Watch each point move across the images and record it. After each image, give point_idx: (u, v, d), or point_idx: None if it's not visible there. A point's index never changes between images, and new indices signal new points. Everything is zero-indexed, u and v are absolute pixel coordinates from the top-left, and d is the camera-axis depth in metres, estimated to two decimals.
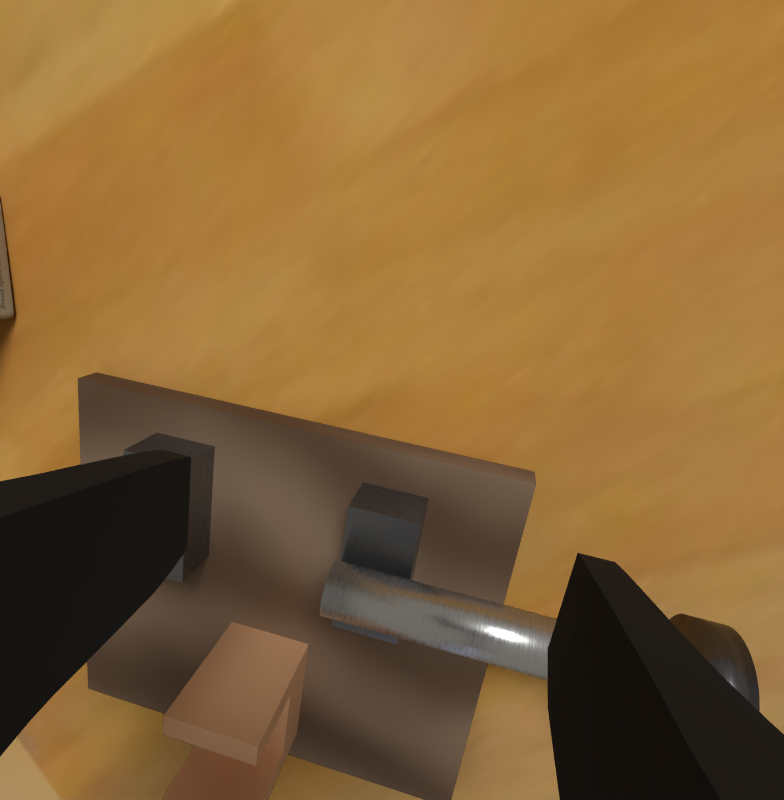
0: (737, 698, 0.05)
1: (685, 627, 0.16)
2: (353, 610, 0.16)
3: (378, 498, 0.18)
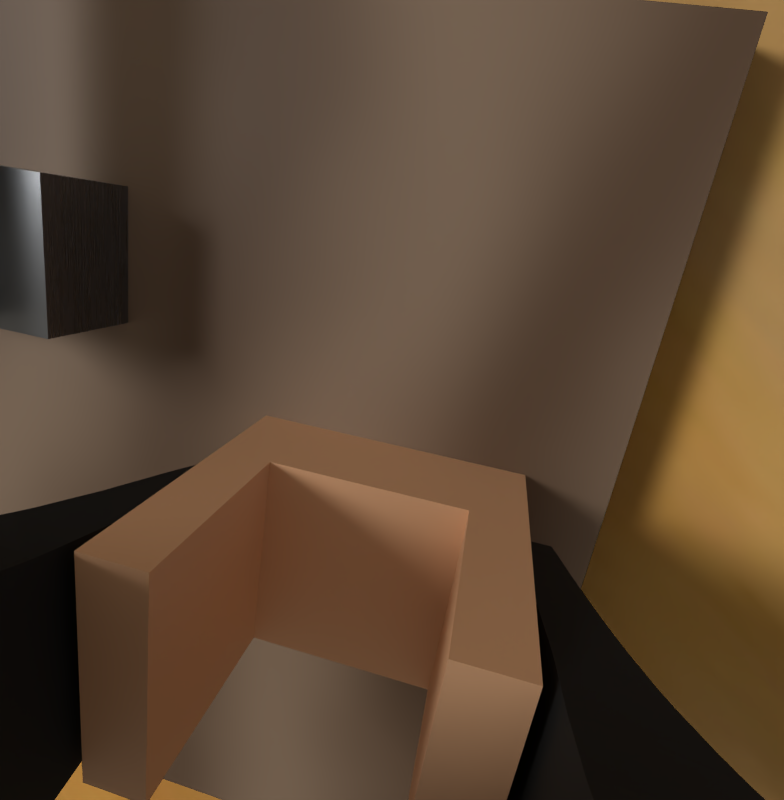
0: (633, 669, 0.05)
1: None
2: None
3: None
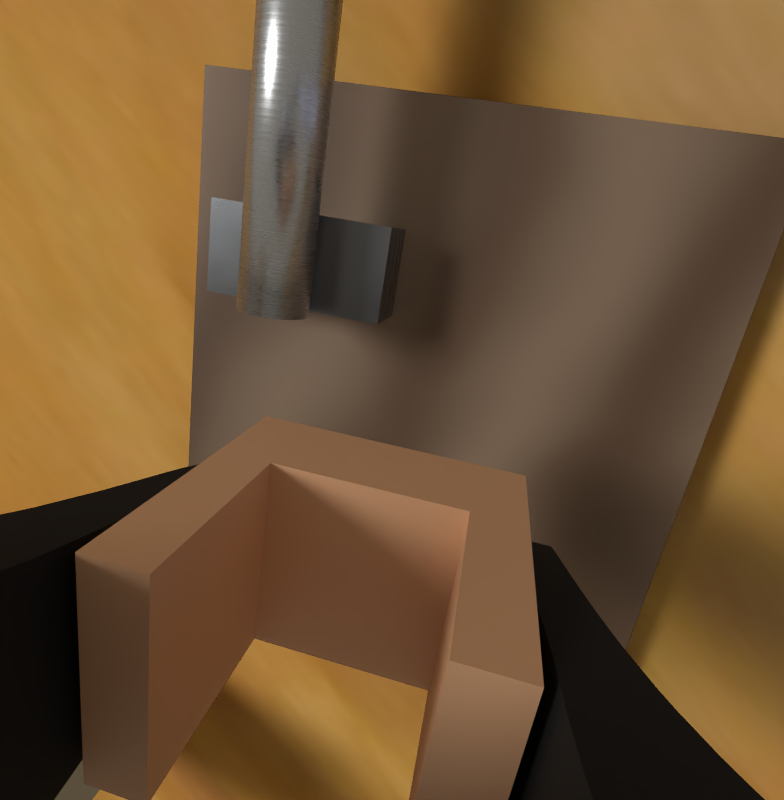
0: (632, 669, 0.05)
1: None
2: (256, 270, 0.12)
3: None
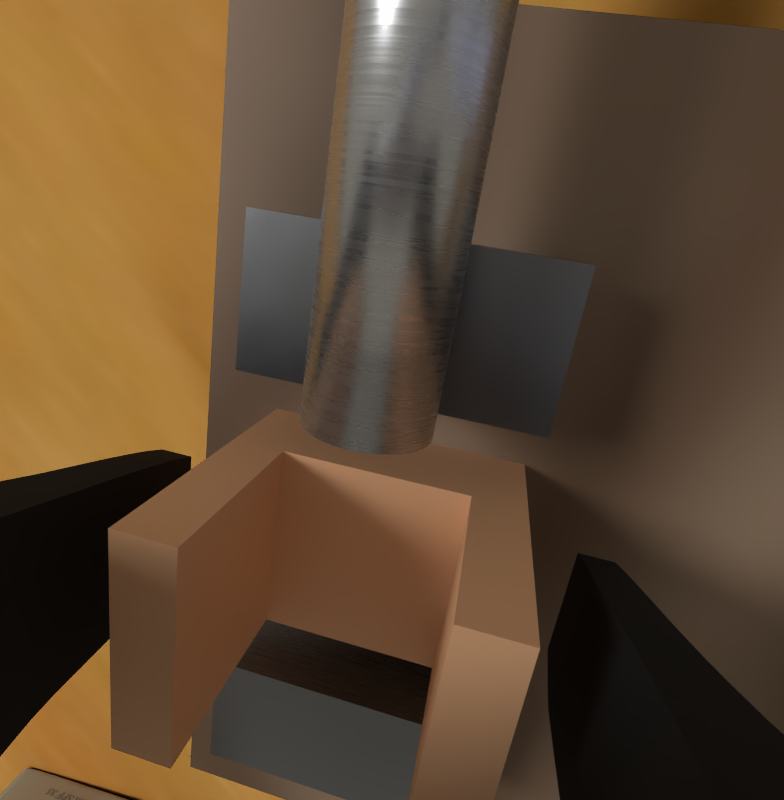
0: (737, 698, 0.05)
1: None
2: (350, 360, 0.06)
3: None
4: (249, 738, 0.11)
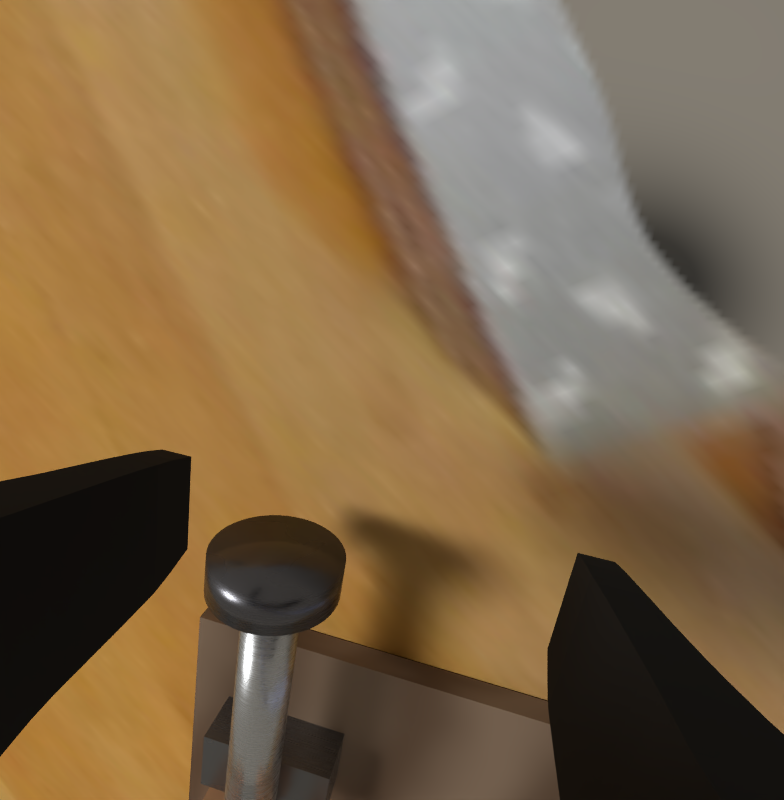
0: (737, 698, 0.05)
1: None
2: None
3: None
4: None
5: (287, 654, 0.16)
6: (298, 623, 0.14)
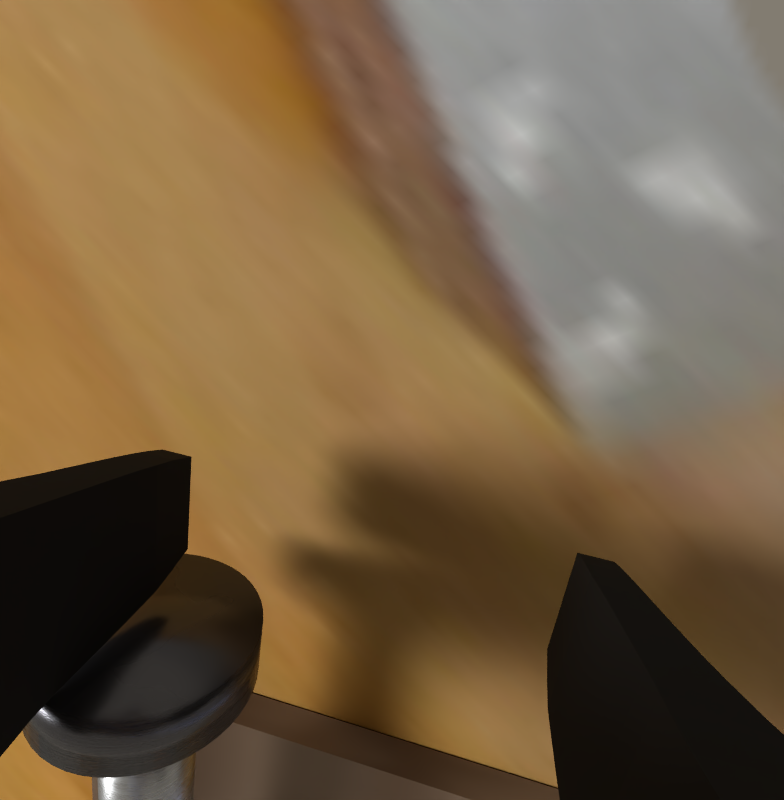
0: (737, 698, 0.05)
1: None
2: None
3: None
4: None
5: (172, 778, 0.10)
6: (164, 752, 0.08)
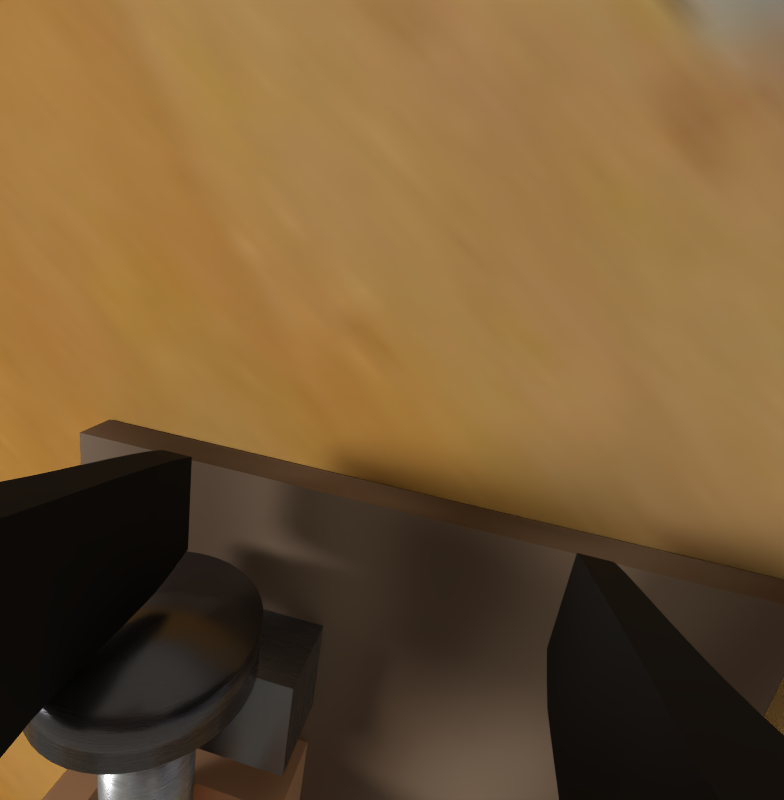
0: (736, 698, 0.05)
1: None
2: None
3: None
4: None
5: (172, 776, 0.10)
6: (164, 749, 0.08)
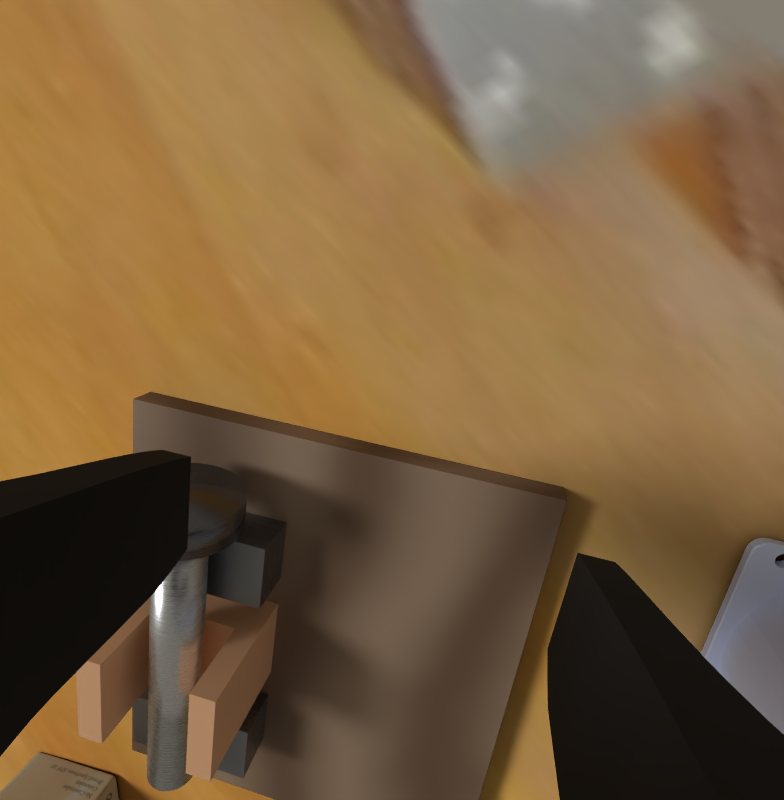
0: (737, 698, 0.05)
1: None
2: (156, 767, 0.19)
3: None
4: None
5: (194, 587, 0.17)
6: (192, 550, 0.15)
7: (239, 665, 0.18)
